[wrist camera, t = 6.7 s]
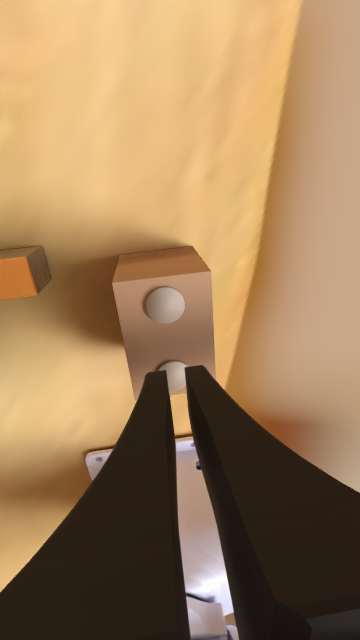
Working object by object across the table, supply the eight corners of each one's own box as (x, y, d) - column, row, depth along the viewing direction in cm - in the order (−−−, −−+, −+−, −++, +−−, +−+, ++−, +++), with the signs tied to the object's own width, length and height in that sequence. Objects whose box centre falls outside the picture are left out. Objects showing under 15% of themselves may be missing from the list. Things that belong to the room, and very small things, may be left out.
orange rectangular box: (42, 245, 15) (24, 257, 13) (51, 278, 16) (36, 295, 14) (-6, 251, 15) (-32, 264, 13) (6, 284, 16) (-17, 301, 14)
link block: (120, 254, 16) (111, 284, 12) (192, 245, 17) (212, 272, 12) (136, 347, 19) (134, 403, 14) (198, 339, 19) (217, 391, 14)
